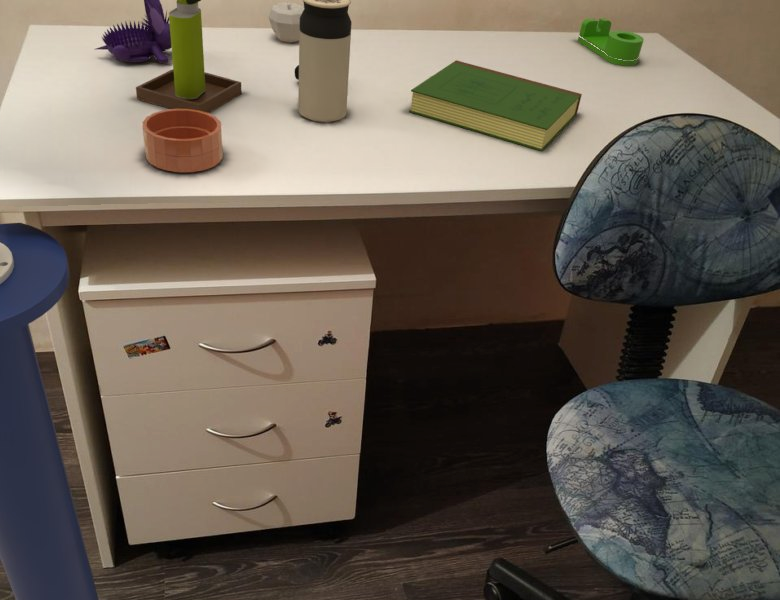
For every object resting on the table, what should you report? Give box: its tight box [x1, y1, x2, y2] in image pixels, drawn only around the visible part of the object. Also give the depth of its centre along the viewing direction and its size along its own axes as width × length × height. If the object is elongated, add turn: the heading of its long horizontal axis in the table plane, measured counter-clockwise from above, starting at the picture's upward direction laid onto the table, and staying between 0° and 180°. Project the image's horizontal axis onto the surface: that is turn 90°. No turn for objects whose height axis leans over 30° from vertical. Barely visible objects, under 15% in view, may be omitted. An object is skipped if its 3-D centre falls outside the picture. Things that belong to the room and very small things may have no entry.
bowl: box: [141, 108, 224, 173], centre depth 115 cm, size 11×11×5 cm
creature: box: [95, 0, 172, 64], centre depth 140 cm, size 9×18×12 cm, turn 107°
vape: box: [168, 0, 205, 99], centre depth 126 cm, size 4×6×20 cm, turn 167°
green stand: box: [577, 17, 645, 67], centre depth 169 cm, size 15×7×5 cm, turn 22°
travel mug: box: [297, 0, 352, 123], centre depth 127 cm, size 8×8×18 cm
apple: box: [268, 2, 304, 44], centre depth 156 cm, size 8×8×7 cm
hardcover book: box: [408, 59, 583, 152], centre depth 139 cm, size 25×19×4 cm
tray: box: [135, 68, 243, 114], centre depth 133 cm, size 12×12×2 cm
